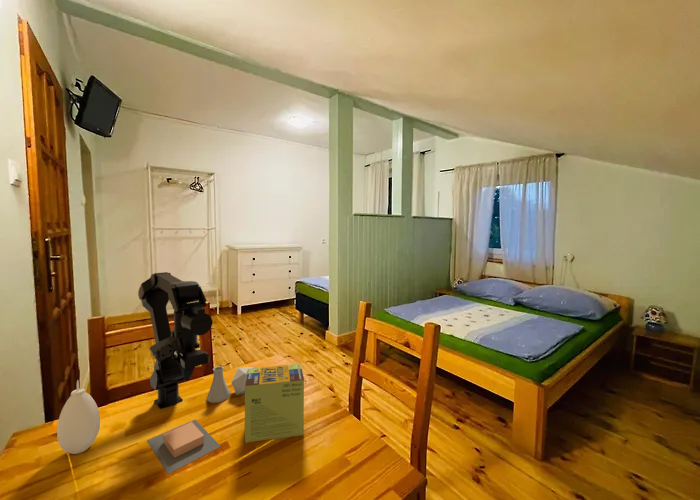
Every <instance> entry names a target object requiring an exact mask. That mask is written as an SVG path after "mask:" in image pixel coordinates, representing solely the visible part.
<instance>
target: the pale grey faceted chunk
mask: <svg viewBox="0 0 700 500" xmlns="http://www.w3.org/2000/svg"><path fill="white" fill-rule="evenodd" d="M255 367H256V366H245V367H238V368H237V369H236V372H235V374H234V376H233V378H232V381H231V385H232V387H233V389H234V392H235V393H236V396H241V395H245V383H246V379H247V373H248V369H252V368H255Z"/></svg>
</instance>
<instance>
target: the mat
mask: <svg viewBox="0 0 700 500" xmlns="http://www.w3.org/2000/svg"><path fill="white" fill-rule="evenodd" d="M190 422H192V423H193V424H194V425H195V426H196V427H197V428H198V429H199V430H200V431H201V432H202V434H203V435H204V443H203V444H202V445H200V446H198V447H196V448H194V449H192V450H190V451H188V452H186V453H184V454H182V455H180V456H178V457H175V458H174V457H173V456H172V454H171V453H170V451H169V450H168V448H167V447H166V446H165V444H164V443H163V434H165V433H167V432H169V431H172V430H174V429H176V428H179V427H181V426H183V425H186V424H188V423H190ZM146 442H147V443H148V445H149V446H150V448H151V449H152V452H153V453H154V454H155V456H156V458H157V459H158V461H159V462H160V464H161V466H162V467H163V468H164V470H165V472H166V473H167V475H169V474H171V473H173V472H176V471H177V470H179V469H181V468H182V467H184V466H186V465H188V464H190V463H193V462H194V461H196V460H197V459H200V458H202V457H203V456H205V455H207V454H209V453H211V452H213V451H215V450H217V449H219V448H220V447H222V445H220V444H219V443H218V441H217V440H215V438H214V437H213V436H212V435H211V434H210V433H209V432H208V431H207V430H206V429H205V428H204V427H203V426H202V424H200V423H199V421H198V420H196V419H194V420H193V419H192V420H191V421H190V420H189V421H188V422H186V423H184V424H182V425H180V426H179V425H178V426H177V427H174V428H172V429H170V430H167V431H166V432H165V431H164V432H162V433H161V434H157V435H156V436H154V437H151V438H149V439H146Z"/></svg>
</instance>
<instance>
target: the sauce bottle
mask: <svg viewBox="0 0 700 500" xmlns="http://www.w3.org/2000/svg"><path fill="white" fill-rule="evenodd" d="M56 427H57V428H56V437H57V441H58V445H59V447H60V448H61V449H62V450H63V451H64V452H66V454H67V453H68V454H72V455H77V454H81V453H83V452H86V450H88V449H89V448H90V447H91V446H92V445H93V444H94V443H95V441H96V439H97V437H98V435H99V432H100V429H101V428H100V427H101V415H100V410H99V407H98V404H97V403H96V401H95V399H93V397H92V395H90V394H89V393H88V392H86V389H85V388H80V383H79V380H78V379H77V380H76V389H74V390H72V391H71V393H70V396H69V398H67V400H66V402H65V404H64V405H63V407H62V409H61V412H60V414H59V418H58V421H57V426H56Z"/></svg>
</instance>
